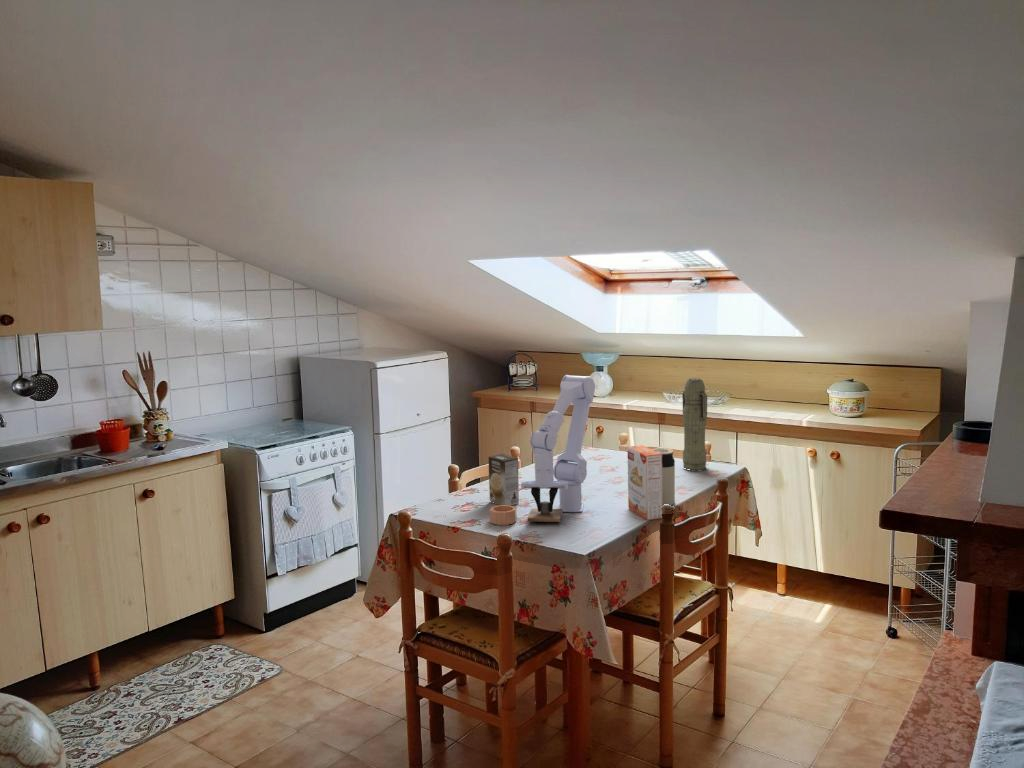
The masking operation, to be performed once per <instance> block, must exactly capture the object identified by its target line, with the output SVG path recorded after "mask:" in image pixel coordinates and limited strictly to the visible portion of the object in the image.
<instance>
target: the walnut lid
mask: <svg viewBox="0 0 1024 768" xmlns="http://www.w3.org/2000/svg"><path fill="white" fill-rule="evenodd" d="M540 502H541V503H540V510H541V511H540V512H538V508H531V509H530V512H529V514H528V516H527V522H539V523H540V522H541V523H542V522H546V523H549V522H551V523H555V522H556V523H560V522H561V519H562V516H563V513H564V512H563V509H558V508H553V509H552V512H550V501H540Z"/></svg>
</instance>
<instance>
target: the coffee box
mask: <svg viewBox="0 0 1024 768" xmlns="http://www.w3.org/2000/svg"><path fill="white" fill-rule="evenodd" d="M488 483H489V484H488V485H489V486H488V487H489V489H488V490H489V502H490V501H491V502H490V503H492V502H494V503H496V505H497V504H499V505H513V506H515V505H514V504H516V505H519V504H520V494H519V493H520V491H519V490H520V488H519V486H520V485H519V458H518V457H514V456H511V455H508V454H505V453H500V454H495V455H491V456H488ZM494 503H493V504H494ZM518 503H519V504H518Z"/></svg>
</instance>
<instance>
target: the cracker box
mask: <svg viewBox="0 0 1024 768" xmlns="http://www.w3.org/2000/svg"><path fill="white" fill-rule="evenodd" d="M627 489H628V490H627V491H628V492H627V495H628V496H627V497H628V500H627V502H628V503H627V505H628V506H627V507H628V509H629V510H630V511H632V512H633V513H635V514H637V516H640V517H641V518H642V519H644V520H646V521H652V520H659V519H660V520H661V519H662V518H661V506H663V501H662V454H660V453H658V452H655V451H653V450H652V449H651V448H649V447H647V446H646V445H634V446H631V445H630V446H627ZM663 507H664V506H663Z"/></svg>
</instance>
